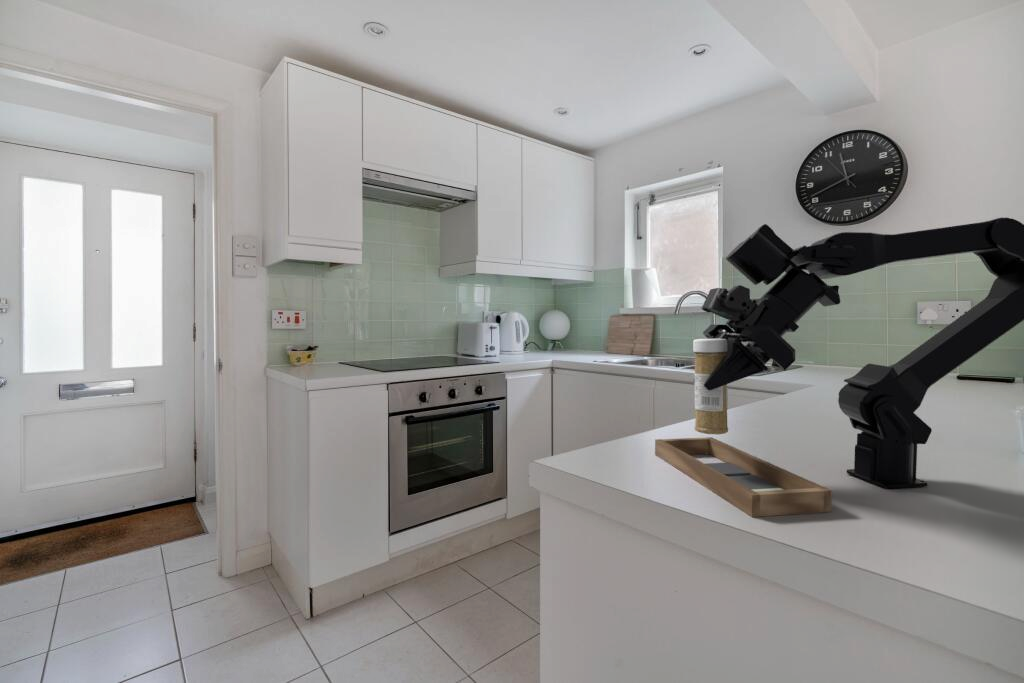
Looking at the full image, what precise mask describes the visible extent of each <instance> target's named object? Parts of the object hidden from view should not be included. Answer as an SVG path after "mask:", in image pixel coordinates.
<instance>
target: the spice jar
mask: <svg viewBox="0 0 1024 683" xmlns="http://www.w3.org/2000/svg"><path fill="white" fill-rule="evenodd" d="M727 345H728V344H727V340H726V339H708V338H697V339H694V340H693V344H692V346H693V348H692V350H693V352H694V353H693V355H694V378H695V383H694V409H695V411H694V413H695V421H694V422H695V424H694V430H695V432H698V433H701V434H706V435H724V434H727V433H728V432H729V427H728V409H729V407H728V406H729V404H728V402H729V401H728V396H729V395H728V386H727V385H728V384H726V385H723V386H721V387H718V388H715V389H713V390H707V389H706V388H705V387H704V383H705V382H706V380H707V379H708V378H709V376H710V375H711V374H712V372H713V371H714V370H715V368H716V367H717V366H718V365H719V363H720V362H721V361H722V359H723V358H724V357H725V356H726V354H727V353H726V352H727Z"/></svg>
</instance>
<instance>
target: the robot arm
mask: <svg viewBox="0 0 1024 683" xmlns="http://www.w3.org/2000/svg"><path fill="white" fill-rule="evenodd" d="M969 253H973V254H974V255H975V256H977V257H978V258H979V259H980V261H981V262H982V263H983V265H984V266H985V268H986V269H987V271H988V272H989V273H990V274H992V275H994V276H995V277H996V278H995V279H994V281H993V283H992V285H991V287H990V290H989V292H988V295H987V296H986V297H984V299H982V300H981V301H980V302H978V303H977V304H976V305H974V306H973V307H971V308H970V309H968V310H967V311H966V312H965V313H963V314H962V315H960V316H959V317H958V318H956V319H955V320H953V321H952V322H950V323H949V324H948V325H947V326H945V327H944V328H942V329H941V330H940V331H938V332H937V333H936V334H934V335H933V336H931V337H930V338H929V339H927V340H926V341H924V342H923V343H922V344H921V345H919V346H917V348H915V349H914V350H912V351H911V352H910V353H908V354H907V355H905V356H904V357H903V358H901V359H900V360H898V361H897V362H895V363H894V364H892V365H881V364H875V363H871V362H870V363H869V362H868V363H867V364H866V365H864V366H863V367H862V368H861V369H860V370H859V371H858V372H857V373H856V374H855V375H853V376H851V377H848V378H845V379H844V380H843V382H844V383H846V384H845V385H844V386H843V387H842V388H840V390H839V392H838V398H837V399H838V400H837V402H838V405H839V409H840V410H841V412H842V413H843V414H844V415H845V416H847V417H848V419H849V421H850V423H851V426H852V428H853V429H854V430H858V431H861V432H860V433H856V444H855V445H854V466H853V468H850V469H849V468H848V469H846V474H848V475H851V476H854V477H856V478H859V479H861V480H864V481H867V482H869V483H872V484H874V485H877V486H879V487H882V488H887V489H893V488H894V489H896V488H897V489H899V488H914V487H927V486H928V481H926V480H924V479H919V478H917V466H918V465H917V463H918V462H917V461H918V460H917V459H918V445H926V444H927V442H928V439H929V438H930V436H931V433H932V430H933V429H932V428H931V427H930V426H929V424H927V423H925V421H924V420H922V418H920V417H919V416H918V415H917V414H916V413H915V412H917V410H918V409H919V408H920V407H921V405H922V403H923V400H924V398H925V396H926V394H927V393H928V390H929V389H930V387H932V386H933V385H934V384H936V383H937V382H938V381H940V380H941V379H943V378H944V377H945V376H947V375H948V374H950V373H951V372H953V371H954V370H956V369H957V368H958V367H960V366H961V365H963V364H964V363H966V362H967V361H968V360H970V359H971V358H972V357H974V356H975V355H977V354H978V353H980V352H981V351H982V350H984V349H985V348H987V347H988V346H990V345H991V344H993V343H994V342H995V341H997V340H998V339H1000V337H1002V336H1004V335H1005V334H1007V333H1008V332H1009V331H1011V330H1012V329H1014V328H1015V327H1017V326H1018V325H1020V324H1021V323H1022V322H1023V321H1024V223H1022V222H1021V221H1020V220H1017V219H1014V218H1009V217H999V218H997V217H996V218H993V219H990V220H986V221H982V222H975V223H974V222H973V223H967V224H960V225H951V226H947V227H937V228H931V229H925V230H916V231H909V232H904V233H896V234H888V233H887V234H886V233H885V234H883V233H875V232H865V231H863V232H861V231H860V232H857V231H856V232H854V231H853V232H852V231H848V232H847V231H845V232H844V231H843V232H839V233H836V234H833V235H830V236H827V237H825V238H823V239H820V240H817V241H815V242H812V244H811V245H809V246H806V245H802V246H800V247H797V248H794V249H793V248H792V247H791V246H790V245H788V243H786V241H784V240H783V239H782V238H780V237H779V236H778V235H777V234H776V233H775V231H774V230H773V229H772V228H771V227H770V226H769V225H768V224H767V223H766V224H765V223H764V224H763V225H761V226H759V227H758V228H757V229H756V230H755V231H754V232H753V233H752V234H751V235H749V236H748V237H747V238H745V240H743V241H741V242H740V243H738V244H737V245H736V246H735V247H734V248H733V249H732V251H731V252H730V253H729V254H728V255H727V256H726V257H725V260H726V261H727V262H728V263H729V264H730V265H732V266H733V267H734V269H736V270H737V271H738V272H740V273H741V274H742V275H743V276H744V277H745V278H746V279H747V280H748V281H750V282H751V283H752V284H753V285H755V286H756V285H759V284H760V283H762V282H763V284H764V285H765V286H768V285H769V284H772V282H775V281H776V280H777V279H778V278H779V277H780V276H781V278H780V279H778V280H777V281H776V283H774V284H773V285H772V286H771V287H770V288H769V289H768V290H767V291H766V292H765V293H764V294H763V295H762V296H761V297H760V298H753V299H752V298H751V292H750V288H748V287H746V286H743V285H741V284H739V285H734V286H733V287H732V288H731V289H729V290H728V289H727V288H725V287H724V288H721V287H715V288H711V289H709V292H708V294H707V296H706V298H705V300H704V302H703V304H702V306H701V309H700V310H702V311H704V312H706V313H712V314H713V315H716V316H718V317H722V318H724V319H726V320H727V321H726V322H725V324H709V326H708V327H707V328H706V329H704V331H703V332H702V334H703V336H705V338H706V339H726V340H727V344H728V345H727V352H726V353H727V354H726V356H725V357H724V358H723V359H722V361H721V362H720V363H719V365H718V366H717V367H716V368H715V370H714V371H713V372H712V374H711V375H710V376H709V378H708V379H707V380H706V382H705V383H704V387H705V388H706V389H707V390H713V389H715V388H718V387H721V386H723V385H726V384H727V385H728V384H731V383H734V382H737V381H740V380H742V379H745V378H748V377H750V376H753V375H757V374H759V373H762V372H767V371H769V370H770V369H769V367H768V366H766V365H767V363H768V362H769V361H770V360H772V363H771V367H772V368H773V369H775V370H779V371H786V370H787V369H788V368H789V367H790V366H791V365H792V364H793V363H794V362H795V361H796V349H795V348H794V347H793V346H792V345H791V344H790V343H789V342H787V341H786V339H784V337H783V336H784V335H785V334H787V333H795V332H796V331H797V330H798V329H799V328H800V326H799V325H798V324H797V323H799V321H800V320H801V319H802V318H803V317H804V316H805V315H806V314H807V313H808V312H809V311H810V310H811V309H813V307H814V306H815V305H816V304H817V303H819V304H821V306H823V307H831V306H837V305H840V304H841V298H840V293H839V289H840V287H839V285H838V284H837V285H836V284H835V285H829V284H827V283H826V281H824V280H829V279H833V278H839V277H840V278H841V277H846V276H850V275H851V276H852V275H854V274H857V273H860V272H864V271H867V270H872V269H875V268H878V267H880V266H885V265H888V264H890V263H891V264H892V263H899V262H907V261H915V260H924V259H930V258H936V257H937V258H938V257H945V256H954V255H962V254H969ZM806 271H808V272H806ZM782 274H783V275H782ZM693 383H694V384H695V377H694V378H693Z"/></svg>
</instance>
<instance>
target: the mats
mask: <svg viewBox="0 0 1024 683" xmlns="http://www.w3.org/2000/svg"><path fill="white" fill-rule="evenodd" d="M705 464H706V465H708V466H710V467H712V468H713V469H715V470H717V471H719V472H721V473H722V474H724V475H726V476H728V477H729V478H731V479H733V480H735V481H737V482H738V483H740V484H742V485H744V486H746V487H747V488H749V489H751V490H752V489H769V488H779V487H777V486H775V485H773V484H771V483H769V482H767V481H766V480H764V479H762V478H760V477H758V476H756V475H750V472H748V471H746V470H744V469H742V468H740V467H738V466H736V465H734V464H732V463H730V462H727V463H726V462H711V463H710V462H709V463H706V462H705Z"/></svg>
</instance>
